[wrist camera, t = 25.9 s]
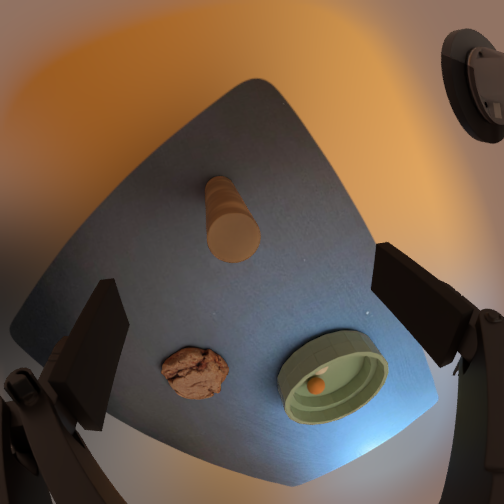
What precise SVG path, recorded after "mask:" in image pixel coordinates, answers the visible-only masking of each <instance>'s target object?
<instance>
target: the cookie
mask: <svg viewBox="0 0 504 504" xmlns="http://www.w3.org/2000/svg"><path fill="white" fill-rule="evenodd" d="M228 372H229V367H228V366H227V364H226V362H225V361H224V359H223V358H222V357H221V356H220V355H218V354H217V355H216V353H214V352H213V351H212V350H211V349H207V350H202V349H199V348H184V349H181V350H180V351H178V352H177V353H175V354H173V355H172V356H170V357H169V358H167V360H165V362H164V364H163V365H162V371H161V373H162V374H163V375H164V376H165V377H166V379H168V382H169V384H170V386H171V387H172V388H173V389H174V390H175V392H176V393H177V394H178V395H180V396H182V397H184V398H188V399H204V398H209V397H211V396H213V395H214V394H213V393H219V392H220V390H221V386H220V385H221V383H222V382H223V381H224V380H225V378H226V375H228Z"/></svg>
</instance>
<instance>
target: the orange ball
mask: <svg viewBox="0 0 504 504" xmlns="http://www.w3.org/2000/svg"><path fill="white" fill-rule="evenodd" d="M324 388H325V383H324V381H323V380H322V379H321V378H318V377H315V378H312V379H310V380H309V382H308V384H307V389H308V391H309V392H310V393H311V394H315V395H317V394H320V393H322V392H323V390H324Z"/></svg>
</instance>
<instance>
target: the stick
mask: <svg viewBox="0 0 504 504" xmlns="http://www.w3.org/2000/svg"><path fill="white" fill-rule="evenodd" d="M205 205H206V229H207V243H208V247H209V249H210V251H211V252H212V254H213V255H214V256H215V257H217V258H218V259H220V260H222V261H224V262H229V263H237V262H241V261H244V260H246V259H248V258H249V257H251V256H252V255H253V254H254V253H255V251H256V250H257V248H258V246H259V243H260V238H261V235H260V230H259V227H258V225H257V223H256V221H255V220H254V218H253V216H252V215H251V213H250V211H249V210H248V208H247V206H246V205H245V203H244V201H243V199H242V198H241V196H240V194H239V193H238V191H237V189H236V188H235V186H234V184H233V183H232V181H231V180H230V179H228V178H227V177H224V176H216V177H213V178H212V179H210V180H209V181H208V183H207V184H206V187H205Z"/></svg>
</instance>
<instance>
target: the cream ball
mask: <svg viewBox="0 0 504 504" xmlns="http://www.w3.org/2000/svg"><path fill="white" fill-rule="evenodd" d="M327 369H328V366H327V367H324V368H322V369H321V370H319V371H318V372H316V373H315V374H316V375H320V374H323V373H325V372H326V371H327Z"/></svg>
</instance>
